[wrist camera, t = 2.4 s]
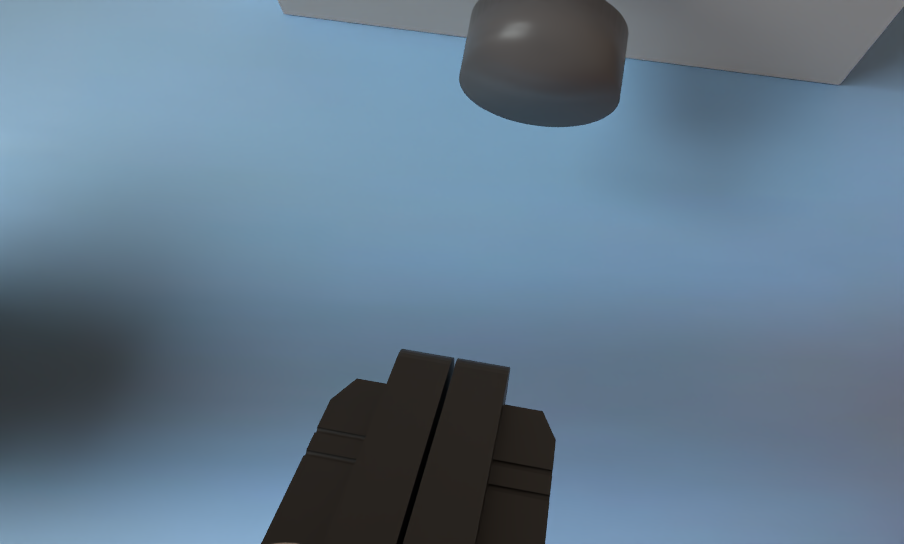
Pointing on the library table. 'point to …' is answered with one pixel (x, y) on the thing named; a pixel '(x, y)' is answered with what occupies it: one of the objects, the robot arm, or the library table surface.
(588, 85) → the knob
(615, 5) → the console
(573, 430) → the library table surface
